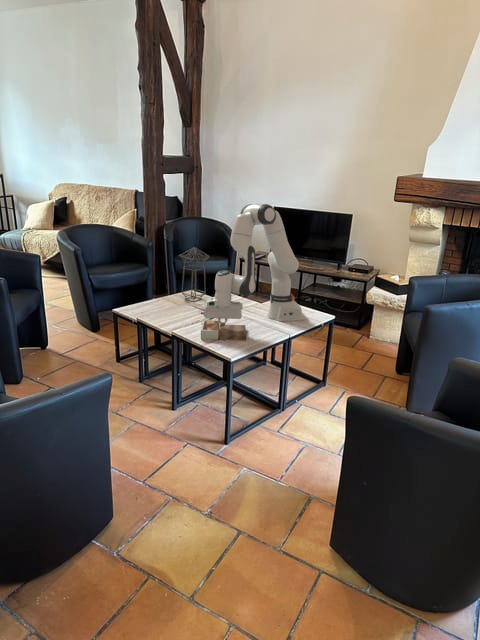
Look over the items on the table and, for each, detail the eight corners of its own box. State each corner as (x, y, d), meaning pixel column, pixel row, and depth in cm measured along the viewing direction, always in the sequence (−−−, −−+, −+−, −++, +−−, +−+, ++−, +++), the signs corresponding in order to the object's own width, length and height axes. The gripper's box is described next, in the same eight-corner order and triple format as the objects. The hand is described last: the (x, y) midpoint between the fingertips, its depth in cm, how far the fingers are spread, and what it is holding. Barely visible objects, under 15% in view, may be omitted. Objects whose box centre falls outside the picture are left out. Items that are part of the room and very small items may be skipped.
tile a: (219, 330, 235) (216, 323, 233) (219, 333, 230) (216, 327, 229) (210, 333, 235) (207, 327, 234) (210, 337, 231) (207, 330, 229)
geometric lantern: (193, 294, 304) (194, 244, 292) (210, 300, 295) (211, 248, 283) (176, 299, 293) (176, 247, 281) (193, 304, 283) (194, 251, 271)
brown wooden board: (245, 329, 244) (245, 325, 243) (245, 340, 229) (245, 335, 228) (220, 328, 244) (220, 324, 243) (218, 339, 229) (218, 335, 228)
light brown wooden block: (214, 321, 239) (206, 320, 239) (214, 324, 235) (206, 324, 234) (214, 329, 241) (206, 329, 241) (214, 333, 236) (206, 332, 236)
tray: (219, 328, 244) (219, 320, 242) (218, 339, 229) (218, 330, 227) (203, 328, 244) (203, 319, 242) (200, 339, 229) (200, 330, 227)
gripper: (242, 300, 236) (241, 324, 241) (204, 299, 236) (204, 323, 241) (242, 303, 230) (242, 328, 235) (203, 302, 230) (203, 327, 235)
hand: (222, 325), depth 238 cm, fingers closed
